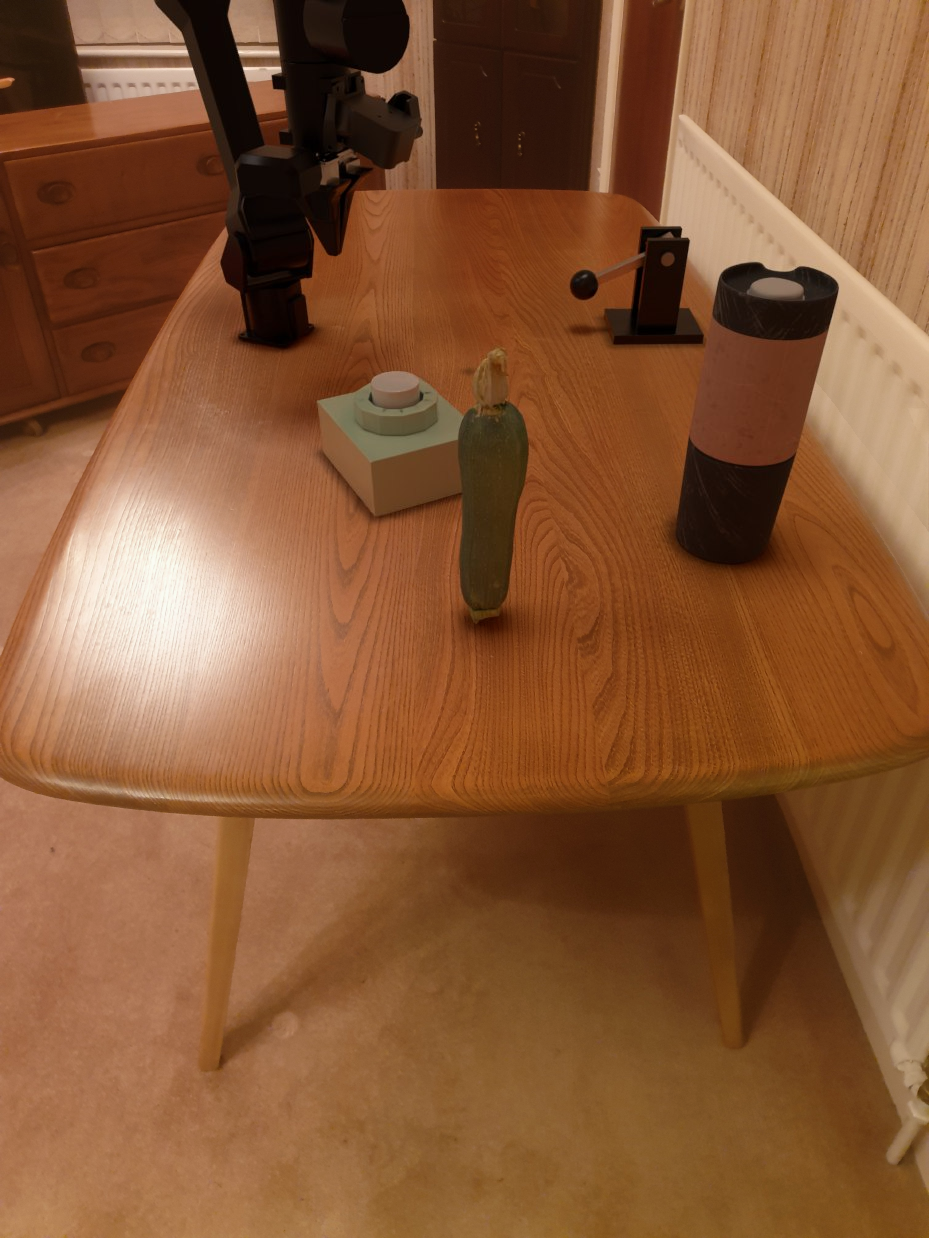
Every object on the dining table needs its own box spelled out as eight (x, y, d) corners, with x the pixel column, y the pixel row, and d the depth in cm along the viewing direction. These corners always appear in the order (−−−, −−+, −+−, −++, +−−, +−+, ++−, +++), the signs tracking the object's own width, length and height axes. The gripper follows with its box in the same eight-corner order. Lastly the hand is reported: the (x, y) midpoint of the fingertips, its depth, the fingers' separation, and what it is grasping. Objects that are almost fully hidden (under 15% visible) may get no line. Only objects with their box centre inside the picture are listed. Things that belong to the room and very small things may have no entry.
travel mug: (714, 577, 64) (775, 310, 51) (652, 526, 69) (692, 272, 56) (792, 549, 67) (868, 288, 54) (726, 501, 72) (781, 253, 59)
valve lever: (576, 309, 96) (567, 282, 94) (573, 299, 99) (564, 273, 97) (681, 263, 93) (674, 235, 91) (676, 254, 96) (668, 226, 94)
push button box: (323, 453, 79) (314, 381, 74) (422, 428, 82) (419, 357, 78) (375, 517, 71) (368, 441, 66) (482, 487, 74) (483, 412, 70)
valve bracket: (613, 346, 97) (624, 245, 90) (603, 318, 103) (613, 222, 96) (702, 345, 97) (720, 244, 90) (687, 317, 103) (703, 221, 96)
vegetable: (457, 595, 63) (453, 325, 50) (516, 592, 63) (528, 322, 50) (462, 635, 59) (459, 357, 46) (524, 632, 60) (539, 354, 47)
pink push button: (364, 396, 73) (363, 376, 72) (407, 386, 74) (406, 367, 73) (383, 416, 70) (382, 396, 69) (428, 405, 71) (427, 385, 70)
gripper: (341, 83, 62) (359, 300, 72) (451, 48, 75) (454, 237, 85) (214, 73, 66) (249, 282, 76) (340, 42, 78) (355, 224, 89)
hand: (334, 255), depth 81 cm, fingers closed
